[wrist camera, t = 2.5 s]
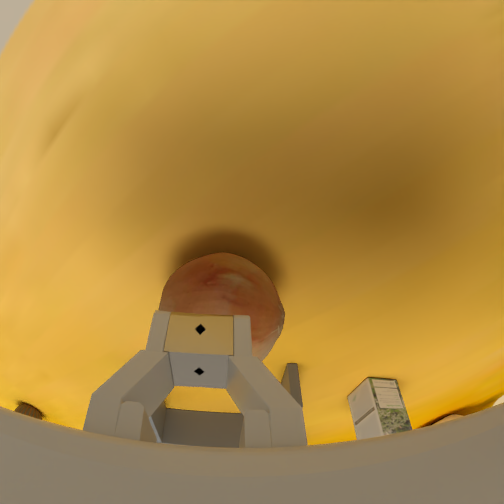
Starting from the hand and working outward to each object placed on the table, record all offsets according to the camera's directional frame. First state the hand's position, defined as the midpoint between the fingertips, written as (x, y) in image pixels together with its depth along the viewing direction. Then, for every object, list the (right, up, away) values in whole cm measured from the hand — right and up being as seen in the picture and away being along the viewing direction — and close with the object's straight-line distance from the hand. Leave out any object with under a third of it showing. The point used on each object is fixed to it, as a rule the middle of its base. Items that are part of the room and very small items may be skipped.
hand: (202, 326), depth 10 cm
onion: (-1, 0, +19) cm, 19 cm away
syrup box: (+19, -17, +32) cm, 41 cm away
